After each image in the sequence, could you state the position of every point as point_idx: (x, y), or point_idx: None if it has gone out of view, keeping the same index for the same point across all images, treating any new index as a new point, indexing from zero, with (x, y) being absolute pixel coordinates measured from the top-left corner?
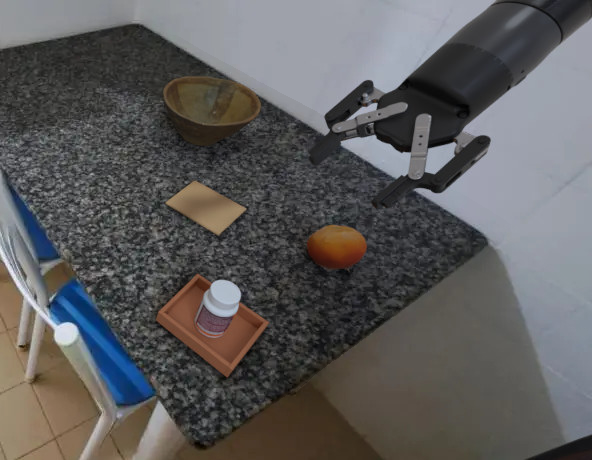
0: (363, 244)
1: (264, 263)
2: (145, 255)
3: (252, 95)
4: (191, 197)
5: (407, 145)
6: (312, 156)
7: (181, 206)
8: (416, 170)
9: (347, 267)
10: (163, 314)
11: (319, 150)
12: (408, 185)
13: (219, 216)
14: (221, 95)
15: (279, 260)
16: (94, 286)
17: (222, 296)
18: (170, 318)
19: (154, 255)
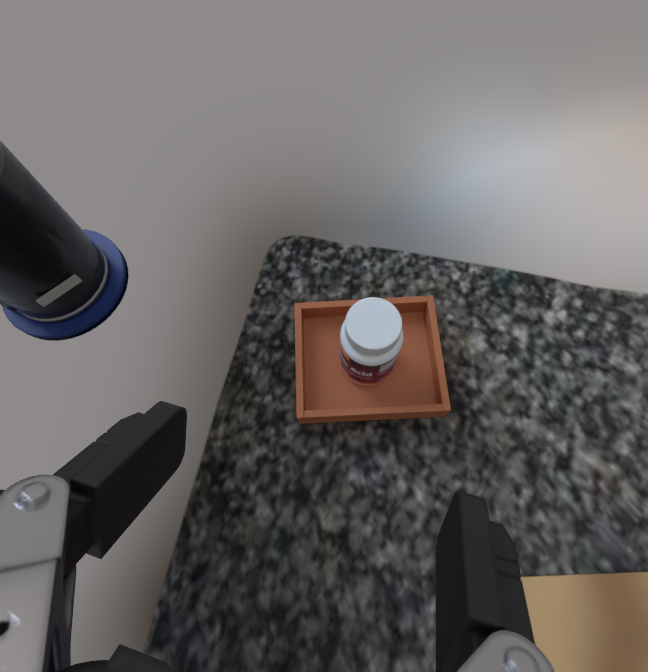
0: None
1: (385, 584)
2: (551, 396)
3: None
4: None
5: (84, 664)
6: (472, 496)
7: (644, 593)
8: (30, 506)
9: None
10: (424, 297)
11: (473, 520)
12: (67, 472)
13: (559, 646)
14: None
15: (368, 626)
16: (539, 280)
17: (370, 309)
18: (411, 300)
19: (541, 410)
